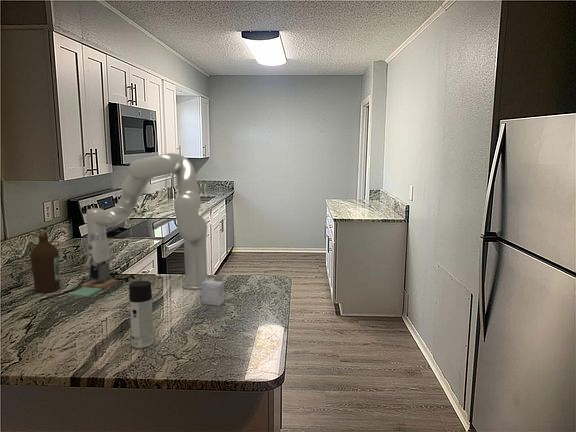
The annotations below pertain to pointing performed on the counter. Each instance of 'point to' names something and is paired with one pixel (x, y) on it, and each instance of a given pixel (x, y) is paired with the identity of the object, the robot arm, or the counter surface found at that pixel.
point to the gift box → (101, 271)
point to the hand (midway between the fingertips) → (99, 275)
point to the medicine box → (212, 292)
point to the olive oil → (45, 265)
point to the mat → (85, 292)
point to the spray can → (141, 314)
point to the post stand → (100, 283)
